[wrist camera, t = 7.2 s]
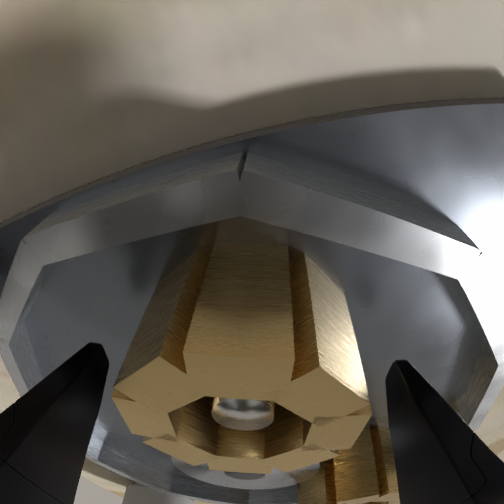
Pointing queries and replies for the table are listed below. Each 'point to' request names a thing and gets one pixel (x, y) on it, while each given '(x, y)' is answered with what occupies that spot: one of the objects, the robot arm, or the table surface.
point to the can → (151, 496)
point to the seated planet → (356, 474)
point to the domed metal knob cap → (247, 476)
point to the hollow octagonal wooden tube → (245, 362)
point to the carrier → (298, 241)
